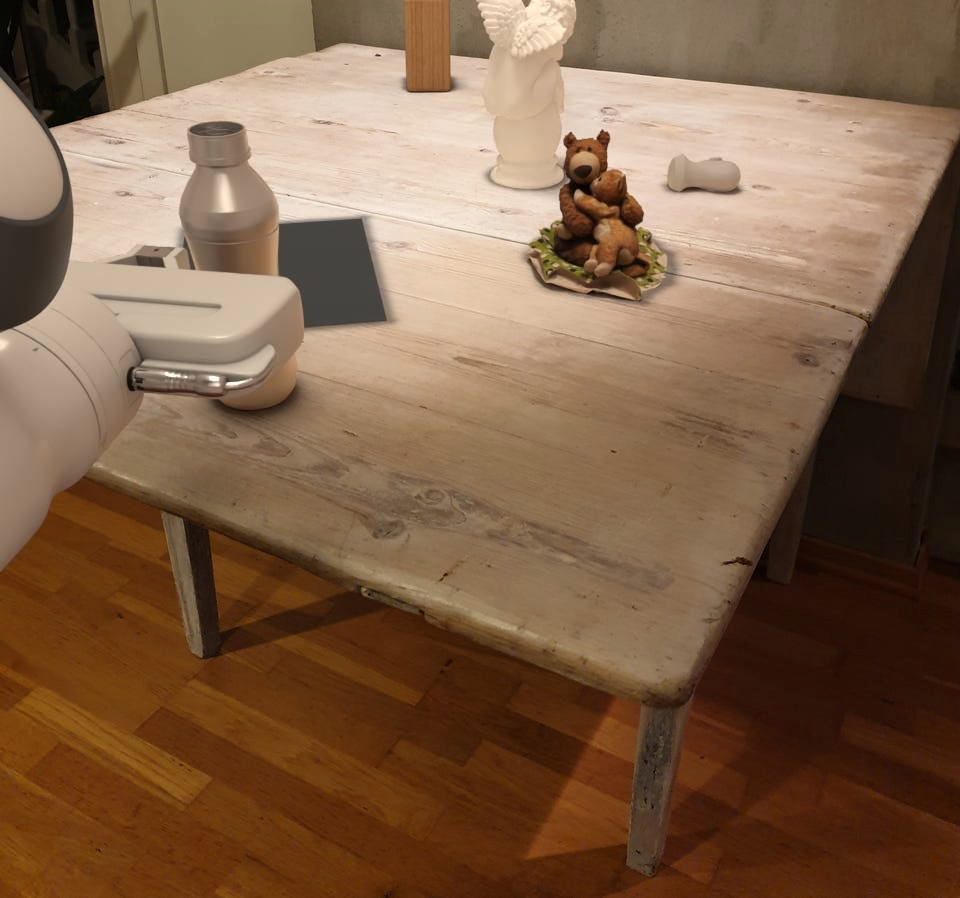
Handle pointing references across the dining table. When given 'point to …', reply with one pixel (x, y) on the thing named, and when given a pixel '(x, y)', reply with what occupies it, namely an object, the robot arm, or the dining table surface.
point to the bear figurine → (597, 229)
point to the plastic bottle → (233, 226)
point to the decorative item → (427, 45)
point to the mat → (329, 271)
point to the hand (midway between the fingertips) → (165, 258)
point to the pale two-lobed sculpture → (703, 174)
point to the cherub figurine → (526, 87)
